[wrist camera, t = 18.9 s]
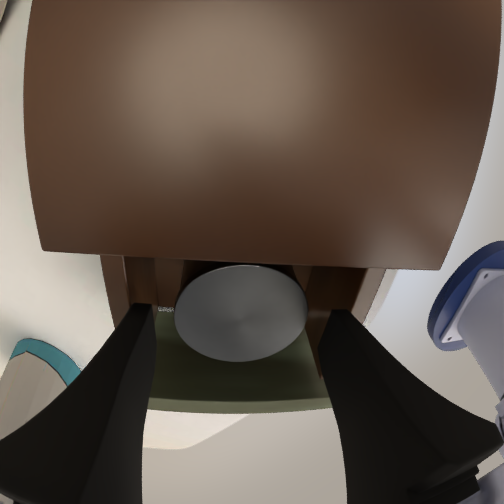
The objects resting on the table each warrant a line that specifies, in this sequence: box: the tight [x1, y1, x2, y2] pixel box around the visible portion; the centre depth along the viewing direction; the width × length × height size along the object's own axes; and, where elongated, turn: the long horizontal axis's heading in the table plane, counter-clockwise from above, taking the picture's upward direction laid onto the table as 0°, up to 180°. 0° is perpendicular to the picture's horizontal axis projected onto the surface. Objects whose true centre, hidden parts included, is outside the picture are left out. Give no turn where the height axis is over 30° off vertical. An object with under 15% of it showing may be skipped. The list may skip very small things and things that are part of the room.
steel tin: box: [173, 260, 308, 362], centre depth 12 cm, size 5×5×4 cm
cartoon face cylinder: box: [0, 339, 81, 504], centre depth 14 cm, size 7×7×15 cm
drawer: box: [100, 255, 386, 414], centre depth 12 cm, size 15×10×6 cm
